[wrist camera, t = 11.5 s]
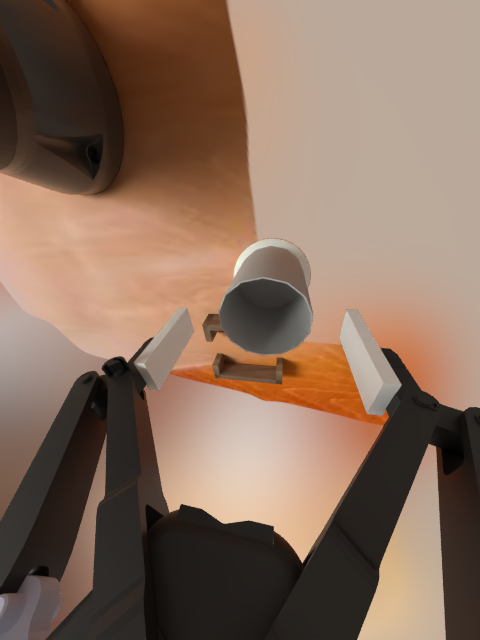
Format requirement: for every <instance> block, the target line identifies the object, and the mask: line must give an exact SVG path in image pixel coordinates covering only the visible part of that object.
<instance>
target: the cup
mask: <svg viewBox="0 0 480 640" xmlns="http://www.w3.org/2000/svg"><path fill="white" fill-rule="evenodd" d="M218 313H219V319H220V325H221V328H222V330H223V331H224V333H225V334H226V336H227V337H228V338H229V340H230V341H231V342H232V343H234V344H235V345H237V346H238V347H240V348H241V349H243V350H245V351H247V352H251V353H255V354H259V355H263V356H266V355H279V354H284V353H286V352H288V351H290V350H292V349H294V348H297V347H299V346H300V344H301V343H302V342H303V341H304V340H305V338H306V337H307V336H308V335H309V334H310V331H311V325H312V319H313V311H312V308H311V303H310V298H309V295H308V289H307V285H306V280H305V276H304V272H303V269H302V267H301V264H300V262H299V259H298V258H297V257H296V256H294V255H293V254H292V253H291V252H290V251H288V250H287V249H284V248H280V247H275V246H268V247H264V248H260V249H256V250H255V251H254V252H253V253H251V254H250V255H249V256H248V257H247V258H246V259H245V260H244V261H243V263H242V265H241V267H240V268H239V270H238V272H237V274H236V275H235V277H234V279H233V281H232V282H231V284H230V286H229V288H228V289H227V291H226V293H225V295H224V297H223V300H222V303H221V305H220V308H219V310H218Z"/></svg>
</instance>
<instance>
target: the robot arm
mask: <svg viewBox="0 0 480 640" xmlns="http://www.w3.org/2000/svg"><path fill="white" fill-rule="evenodd" d="M122 154H123V125H122V117H121V112H120V106H119V102H118V98H117V95H116V91H115V88H114V85H113V82H112V79H111V76H110V73H109V71H108V68H107V66H106V64H105V61H104V59H103V57H102V55H101V53H100V51H99V49H98V47H97V45H96V43H95V41H94V40H93V38H92V36H91V34H90V33H89V31H88V30H87V28H86V27H85V25H84V24H83V22H82V21H81V19H80V18H79V16H78V15H77V14H76V13H75V11H74V10H73V9H72V8H71V6H70V5H69V4H68V3H67V2H66V1H65V0H0V173H2V174H5V175H8V176H11V177H14V178H17V179H20V180H23V181H26V182H29V183H32V184H35V185H38V186H41V187H44V188H47V189H50V190H53V191H56V192H60V193H64V194H71V195H81V194H95V193H98V192H101V191H103V190H104V189H106V188H107V187H108V186H109V185H110V184H111V183H112V182H113V180H114V179H115V177H116V175H117V173H118V170H119V168H120V164H121V160H122ZM193 333H194V329H193V326H192V323H191V319H190V316H189V313H188V309H187V308H178V310H177V311H176V312H175V313H174V314H173V316H172V317H171V318H170V319H169V320H168V322H167V323H166V324H165V325H164V327H163V328H162V329H161V330H160V331H159V333H158V334H157V335H156V336H155V337H154V338H150V339H149V340H147V341H146V342H145V343H144V344H143V345H142V346H141V348H140V349H139V350H138V351H137V352H136V353H135V355H134V356H133V357H132V358H131V359H130V360H129V362H128V363H127V362H126V360H125V359H124V357H114V358H112V359H110V360H108V361H107V362H106V363H105V364H104V365H103V366H102V370H103V371H104V372H105V374H106V375H101V376H99V374H98V373H97V372H95V371H91V372H87V373H85V374H83V375H81V376H80V377H79V378H78V379H77V380H76V381H75V383H74V385H73V387H72V388H71V390H70V392H69V394H68V396H67V398H66V400H65V402H64V404H63V405H62V407H61V409H60V411H59V413H58V415H57V417H56V418H55V421H54V422H53V424H52V426H51V428H50V430H49V432H48V433H47V435H46V437H45V439H44V441H43V443H42V445H41V447H40V448H39V451H38V452H37V454H36V456H35V458H34V460H33V462H32V463H31V465H30V467H29V469H28V471H27V473H26V475H25V476H24V478H23V480H22V482H21V484H20V486H19V488H18V490H17V491H16V493H15V495H14V497H13V499H12V501H11V503H10V505H9V506H8V508H7V510H6V512H5V514H4V516H3V518H2V520H1V521H0V640H357V638H358V635H359V633H360V631H361V628H362V625H363V622H364V620H365V618H366V615H367V612H368V610H369V607H370V604H371V602H372V599H373V597H374V594H375V592H376V588H377V585H378V581H379V567H380V564H381V561H382V558H383V556H384V553H385V551H386V548H387V546H388V543H389V541H390V538H391V536H392V533H393V531H394V528H395V526H396V523H397V521H398V518H399V516H400V513H401V511H402V508H403V506H404V503H405V501H406V498H407V496H408V494H409V491H410V489H411V486H412V484H413V481H414V479H415V476H416V474H417V471H418V469H419V466H420V464H421V461H422V459H423V456H424V454H425V451H426V449H427V446H428V444H431V445H434V446H436V451H437V470H438V491H439V510H440V530H441V550H442V570H443V590H444V607H445V630H446V640H480V408H477V407H469V408H468V409H466V410H465V411H464V412H463V411H460V410H457V409H454V408H450V407H447V406H444V405H442V404H439V402H438V401H437V400H436V399H435V398H434V397H433V396H431V395H430V394H428V393H426V392H423V391H422V390H421V389H420V388H419V386H418V385H417V383H416V382H415V380H414V379H413V377H412V376H411V374H410V373H409V371H408V370H407V369H406V367H405V365H404V364H403V363H402V361H401V359H400V358H399V356H398V355H397V354H396V353H395V352H393V351H392V350H391V349H385V348H380V347H379V345H378V344H377V342H376V340H375V339H374V337H373V335H372V334H371V332H370V330H369V329H368V327H367V325H366V323H365V322H364V320H363V318H362V317H361V315H360V313H359V311H358V310H346V313H345V317H344V321H343V324H342V328H341V332H340V336H339V338H340V341H341V344H342V347H343V349H344V352H345V355H346V358H347V360H348V363H349V366H350V369H351V371H352V374H353V377H354V380H355V382H356V385H357V388H358V391H359V393H360V396H361V399H362V402H363V404H364V407H365V410H366V413H367V414H372V415H381V416H382V415H383V414H384V412H385V411H387V413H388V415H389V418H388V420H387V421H386V423H385V424H384V426H383V429H382V430H381V432H380V434H379V435H378V437H377V439H376V441H375V442H374V444H373V446H372V447H371V449H370V451H369V452H368V454H367V456H366V458H365V459H364V461H363V462H362V464H361V466H360V468H359V469H358V471H357V473H356V475H355V476H354V478H353V479H352V481H351V483H350V485H349V486H348V488H347V490H346V491H345V493H344V495H343V496H342V498H341V500H340V502H339V503H338V505H337V507H336V508H335V510H334V512H333V514H332V515H331V517H330V519H329V520H328V522H327V524H326V526H325V527H324V529H323V530H322V532H321V534H320V535H319V537H318V538H317V540H316V542H315V543H314V545H313V546H312V548H311V550H310V552H309V553H308V555H307V557H306V558H305V560H304V562H303V563H302V562H301V560H300V559H299V557H298V555H297V554H296V553H295V551H294V549H293V548H292V547H291V546H290V544H289V543H288V542H287V541H286V540H285V539H284V538H283V537H281V536H280V535H279V534H277V533H276V532H274V527H273V526H270V525H265V524H261V523H257V522H253V521H243V522H235V523H228V524H223V523H221V522H220V521H218V520H217V519H215V518H214V517H212V516H211V515H210V514H208V513H207V512H205V511H204V510H202V509H199V508H195V507H191V506H187V505H183V504H181V506H180V509H179V510H176V511H173V512H170V513H169V510H168V506H167V503H166V500H165V498H164V496H163V492H162V487H161V481H160V475H159V469H158V464H157V458H156V452H155V446H154V440H153V435H152V429H151V423H150V417H149V411H148V406H147V400H146V394H145V391H144V387H145V386H146V384H147V386H148V388H149V389H150V390H158V391H159V390H160V388H161V387H162V385H163V383H164V381H165V380H166V378H167V377H168V375H169V373H170V372H171V370H172V368H173V366H174V365H175V363H176V361H177V360H178V358H179V356H180V355H181V353H182V351H183V350H184V348H185V346H186V345H187V343H188V341H189V339H190V338H191V336H192V334H193ZM106 433H107V446H106V485H105V497H104V499H103V500H102V501H101V502H100V503H99V505H98V508H97V515H96V534H95V554H94V573H93V575H94V576H93V589H92V590H91V591H90V593H89V594H88V595H87V596H86V597H85V598H84V599H83V600H82V601H81V602H80V603H79V604H78V605H77V606H76V607H75V608H74V610H73V611H72V612H71V613H70V614H69V615H68V616H67V617H66V618H65V619H64V620H63V621H62V622H61V624H59V626H58V627H57V628H56V629H55V630H54V631H53V632H52V633H51V624H52V621H53V620H54V619H55V617H56V616H57V614H58V613H59V610H60V608H61V606H62V601H63V600H62V599H63V598H62V595H61V594H60V583H59V582H60V580H61V578H62V576H63V574H64V571H65V568H66V566H67V563H68V561H69V558H70V556H71V553H72V550H73V546H74V543H75V541H76V538H77V534H78V531H79V527H80V524H81V520H82V517H83V513H84V510H85V506H86V503H87V499H88V495H89V492H90V489H91V485H92V482H93V478H94V474H95V471H96V468H97V464H98V461H99V457H100V454H101V450H102V447H103V443H104V440H105V436H106ZM273 538H274V544H273Z"/></svg>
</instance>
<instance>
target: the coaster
mask: <svg viewBox="0 0 480 640" xmlns="http://www.w3.org/2000/svg"><path fill="white" fill-rule="evenodd" d="M268 246H275V247H280V248H284V249H287V250H288V251H290V252H291V253H292V254H293V255H294V256H296V257H297V258H298V259H299V262H300V264H301V267H302V269H303V272H304V276H305V280H306V285H307V289H308V287H309V284H310V277H311V272H310V266H309V262H308V260H307V258H306V256H305V255H304V253H303V252H302V251H301V250H300V249H299V248H298V247H297V246H296V245H294V244H292V243H291V242H288V241H286V240H282V239H277V238H271V239H264V240H260V241H258V242H255V243H253V244H252V245H250V246H249V247H248V248H246V249H245V250H244V252H243V253H242V254H241V255H240V257H239V259H238V260H237V263H236V265H235V269H234V277H235V275H236V274H237V272H238V270H239V268H240V267H241V265H242V263H243V261H244V260H245V259H246V258H247V257H248V256H249V255H250V254H251V253H253V252H254V251H255V250H256V249H260V248H264V247H268Z"/></svg>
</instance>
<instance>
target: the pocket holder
mask: <svg viewBox="0 0 480 640" xmlns="http://www.w3.org/2000/svg"><path fill="white" fill-rule="evenodd" d="M203 330H204V334H205V338H206V341H208V342H213V339H214V337H215V335H216V333H217V331H223V330H222V328H221V325H220V319H219V314H209V315H208V316H207V318H206V320H205V321H204V323H203ZM212 366H213V370H214V374H215V378H223V379H233V380H243V381H253V382H263V383H273V384H282V371H283V358H277V365H276V367H275V366H262V365H250V364H238V363H225V362H224V359H223V354H217V356H216V358H215V360H214V363H213V365H212Z"/></svg>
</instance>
